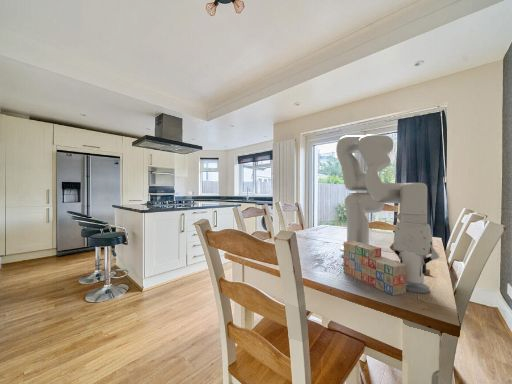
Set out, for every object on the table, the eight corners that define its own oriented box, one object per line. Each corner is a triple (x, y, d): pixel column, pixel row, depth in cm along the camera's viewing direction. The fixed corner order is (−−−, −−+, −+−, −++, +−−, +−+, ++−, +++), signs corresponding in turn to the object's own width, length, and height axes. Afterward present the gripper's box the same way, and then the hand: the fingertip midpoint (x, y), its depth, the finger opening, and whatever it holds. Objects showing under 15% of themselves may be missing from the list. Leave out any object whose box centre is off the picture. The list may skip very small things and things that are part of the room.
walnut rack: (379, 271, 87) (379, 266, 87) (394, 265, 94) (395, 260, 94) (415, 282, 76) (415, 276, 76) (429, 274, 83) (429, 269, 83)
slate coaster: (391, 285, 74) (391, 283, 74) (403, 279, 79) (403, 277, 79) (423, 296, 66) (423, 293, 66) (433, 288, 71) (433, 286, 71)
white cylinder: (396, 276, 75) (396, 248, 75) (411, 274, 76) (411, 246, 76) (415, 284, 68) (415, 253, 68) (430, 282, 70) (430, 251, 70)
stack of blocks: (406, 293, 69) (407, 255, 68) (392, 296, 66) (393, 257, 66) (355, 269, 89) (355, 240, 89) (342, 271, 86) (343, 241, 86)
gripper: (381, 217, 77) (381, 267, 77) (440, 223, 63) (440, 284, 63) (391, 216, 81) (391, 263, 81) (449, 221, 67) (448, 279, 67)
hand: (412, 272), depth 72 cm, fingers closed on white cylinder, 4 cm apart
